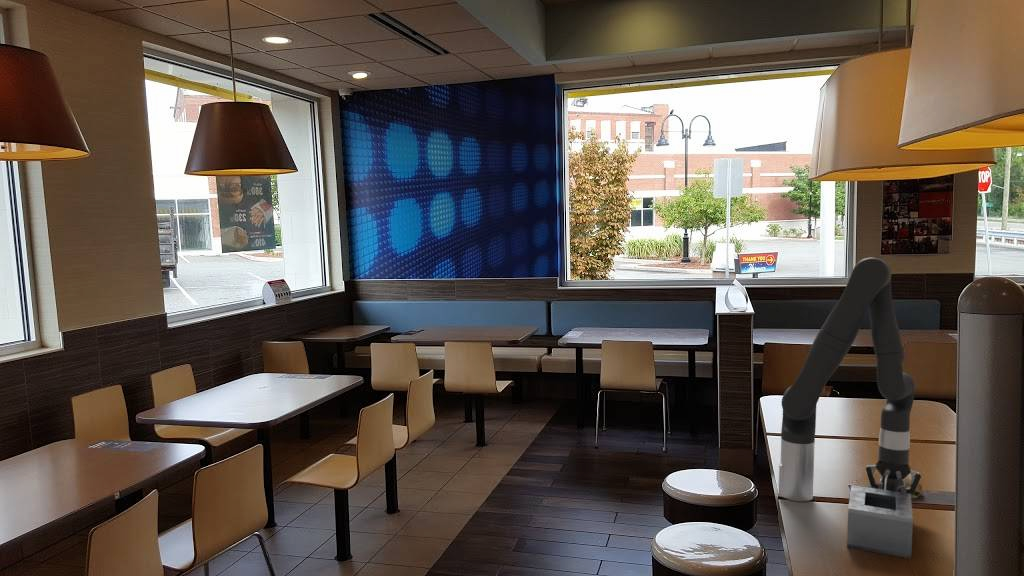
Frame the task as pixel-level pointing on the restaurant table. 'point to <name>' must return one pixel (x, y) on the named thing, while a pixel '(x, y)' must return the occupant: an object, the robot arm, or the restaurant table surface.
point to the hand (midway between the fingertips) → (891, 504)
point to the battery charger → (890, 483)
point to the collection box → (880, 521)
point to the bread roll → (918, 489)
